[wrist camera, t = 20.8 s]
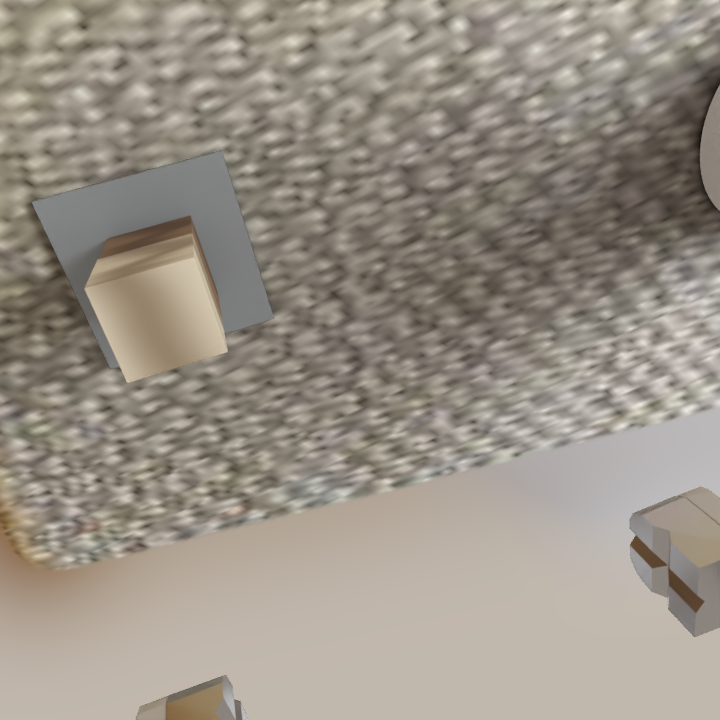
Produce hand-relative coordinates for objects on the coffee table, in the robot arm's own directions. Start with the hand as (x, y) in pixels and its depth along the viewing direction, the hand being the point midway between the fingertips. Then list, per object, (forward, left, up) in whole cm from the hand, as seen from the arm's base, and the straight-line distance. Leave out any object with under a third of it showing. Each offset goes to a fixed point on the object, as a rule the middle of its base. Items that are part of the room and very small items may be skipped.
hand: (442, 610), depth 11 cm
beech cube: (+6, 0, -26) cm, 26 cm away
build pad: (+6, 0, -31) cm, 32 cm away
